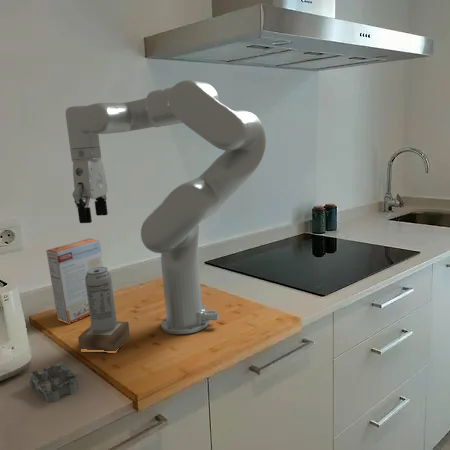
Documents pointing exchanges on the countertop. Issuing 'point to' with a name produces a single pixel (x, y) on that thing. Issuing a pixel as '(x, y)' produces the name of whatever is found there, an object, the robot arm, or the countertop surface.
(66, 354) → the countertop surface
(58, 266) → the cracker box
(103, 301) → the energy drink can
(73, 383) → the egg carton
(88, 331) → the rectangular tray
